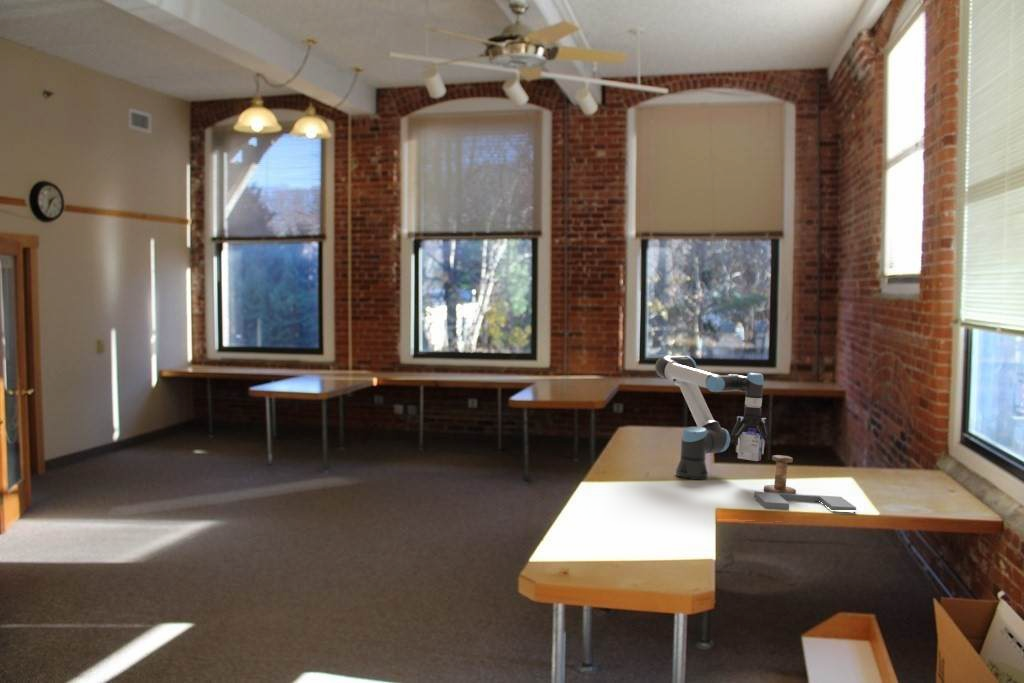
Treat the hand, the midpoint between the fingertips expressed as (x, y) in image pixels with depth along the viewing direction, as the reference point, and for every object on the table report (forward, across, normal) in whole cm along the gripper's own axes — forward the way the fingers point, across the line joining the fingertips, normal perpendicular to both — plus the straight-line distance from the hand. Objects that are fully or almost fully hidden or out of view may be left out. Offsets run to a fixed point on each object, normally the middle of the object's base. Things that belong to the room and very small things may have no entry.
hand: (749, 453), depth 407 cm
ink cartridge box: (+3, 0, 0) cm, 3 cm away
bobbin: (+15, +12, -11) cm, 22 cm away
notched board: (+15, +16, -33) cm, 40 cm away
